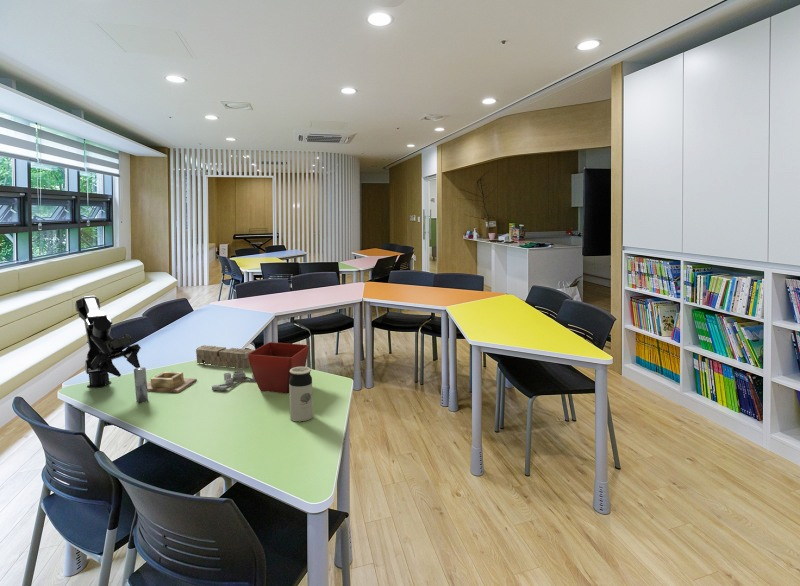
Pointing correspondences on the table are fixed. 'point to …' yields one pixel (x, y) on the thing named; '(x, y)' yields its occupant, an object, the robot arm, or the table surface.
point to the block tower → (223, 356)
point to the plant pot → (276, 365)
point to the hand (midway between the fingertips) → (130, 372)
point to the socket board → (169, 382)
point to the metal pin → (140, 384)
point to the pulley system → (236, 376)
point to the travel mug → (300, 394)
